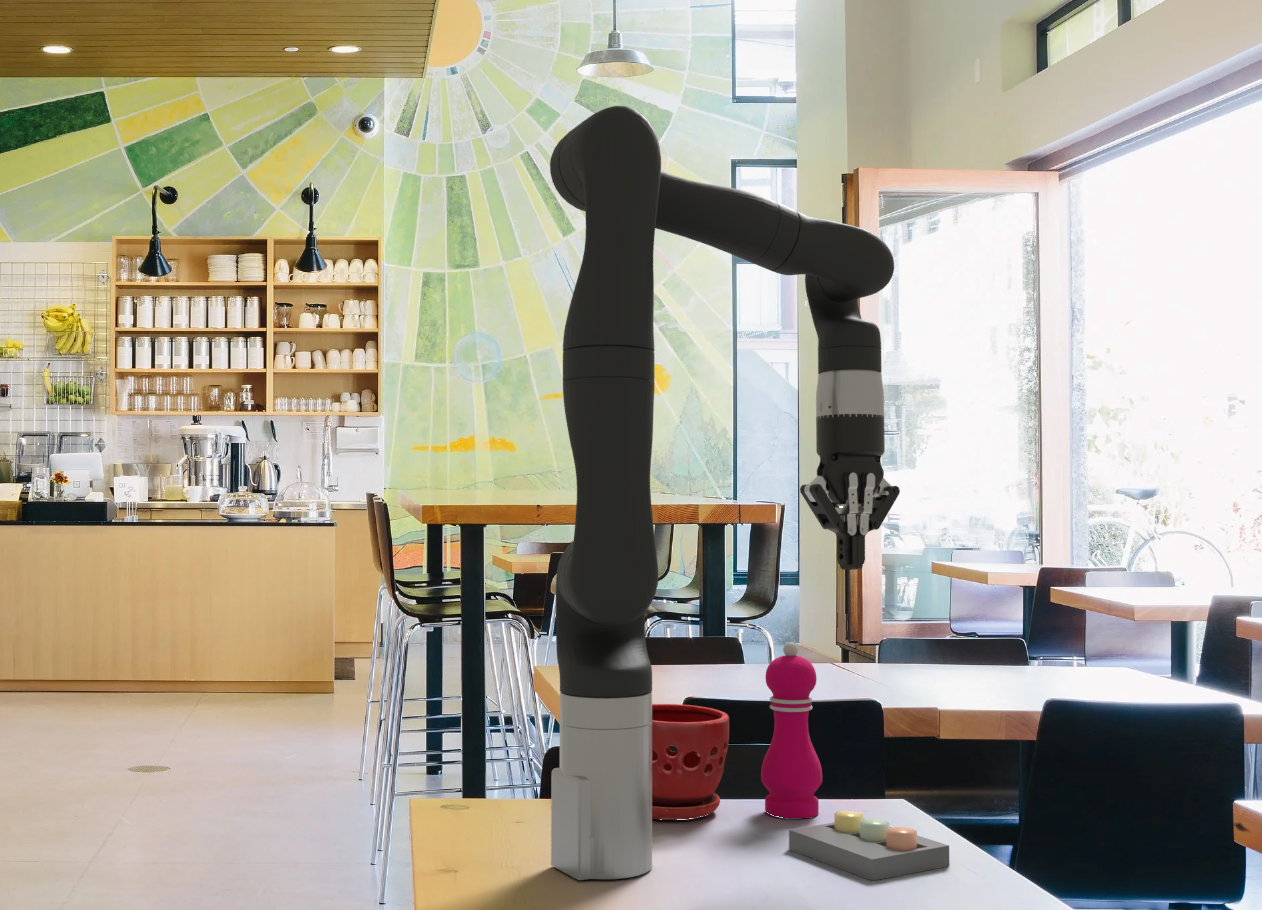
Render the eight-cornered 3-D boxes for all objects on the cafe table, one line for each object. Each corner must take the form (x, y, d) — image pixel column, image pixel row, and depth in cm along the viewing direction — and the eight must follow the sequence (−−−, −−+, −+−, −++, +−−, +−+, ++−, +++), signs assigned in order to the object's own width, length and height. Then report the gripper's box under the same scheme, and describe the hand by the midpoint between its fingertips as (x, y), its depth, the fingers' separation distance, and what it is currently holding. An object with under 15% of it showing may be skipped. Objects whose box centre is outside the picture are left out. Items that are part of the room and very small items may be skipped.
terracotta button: (900, 866, 119) (900, 835, 119) (880, 859, 122) (879, 829, 122) (923, 862, 121) (923, 831, 121) (902, 855, 123) (902, 825, 123)
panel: (872, 880, 116) (872, 859, 116) (789, 848, 127) (788, 829, 127) (949, 865, 121) (949, 845, 121) (862, 836, 132) (862, 817, 132)
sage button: (873, 857, 123) (873, 827, 123) (853, 850, 125) (853, 820, 125) (895, 853, 124) (895, 823, 124) (875, 846, 127) (875, 817, 127)
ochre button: (847, 848, 126) (847, 818, 126) (828, 841, 129) (828, 812, 129) (869, 844, 127) (869, 815, 128) (850, 838, 130) (850, 809, 130)
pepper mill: (821, 806, 146) (819, 639, 147) (824, 821, 139) (823, 645, 140) (760, 805, 147) (759, 638, 148) (761, 819, 140) (760, 644, 141)
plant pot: (615, 826, 137) (615, 718, 137) (620, 800, 150) (621, 701, 150) (731, 827, 136) (731, 719, 137) (727, 800, 149) (726, 702, 150)
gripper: (824, 408, 129) (826, 571, 128) (917, 414, 136) (919, 569, 135) (782, 414, 136) (783, 569, 135) (872, 419, 143) (874, 567, 142)
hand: (851, 569), depth 135 cm, fingers closed
